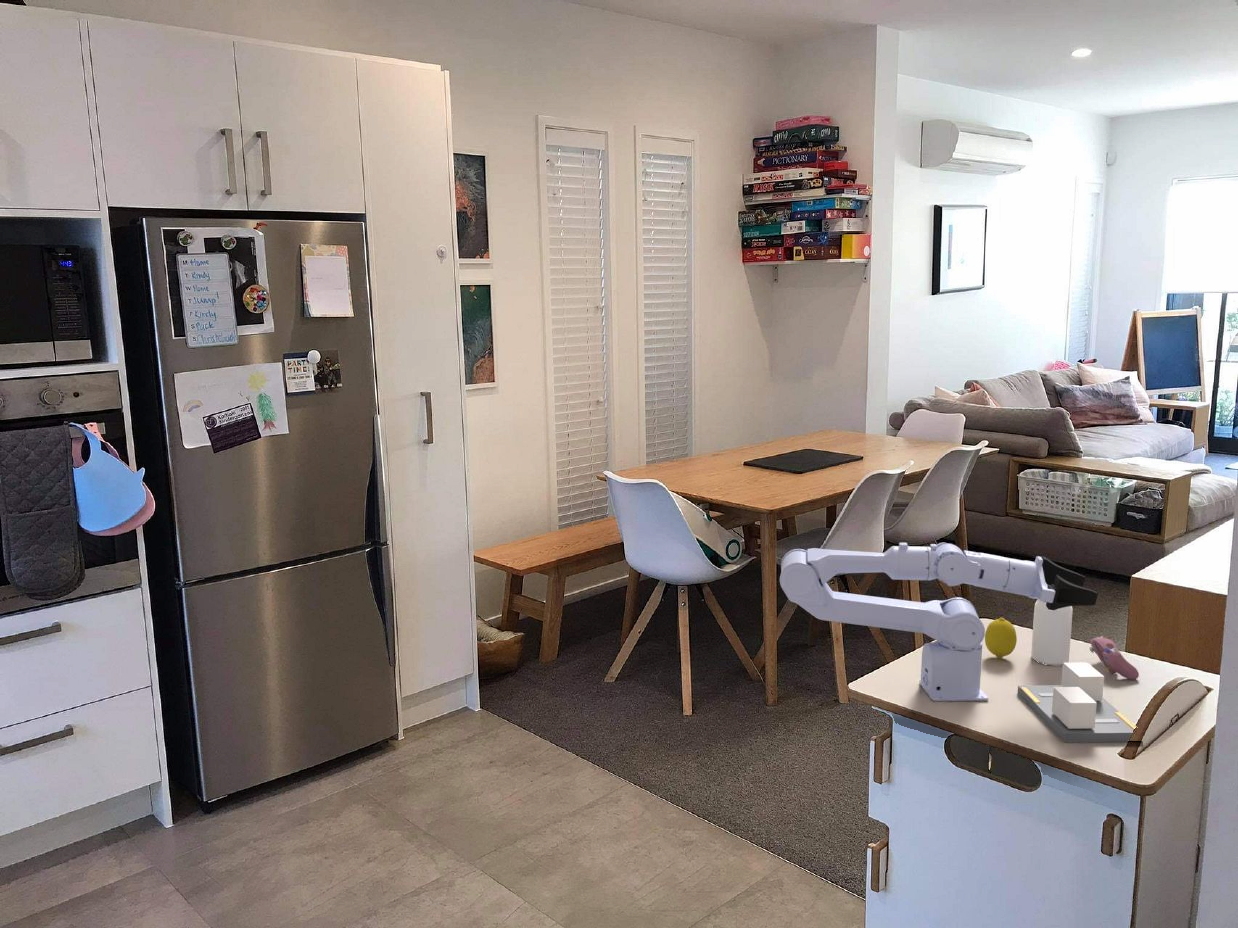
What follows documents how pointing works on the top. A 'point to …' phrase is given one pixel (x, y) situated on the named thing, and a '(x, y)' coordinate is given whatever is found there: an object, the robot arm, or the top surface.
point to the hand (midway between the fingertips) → (1089, 590)
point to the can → (1051, 634)
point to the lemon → (1000, 637)
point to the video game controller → (1113, 658)
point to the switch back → (1083, 679)
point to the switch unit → (1106, 728)
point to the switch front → (1074, 707)
